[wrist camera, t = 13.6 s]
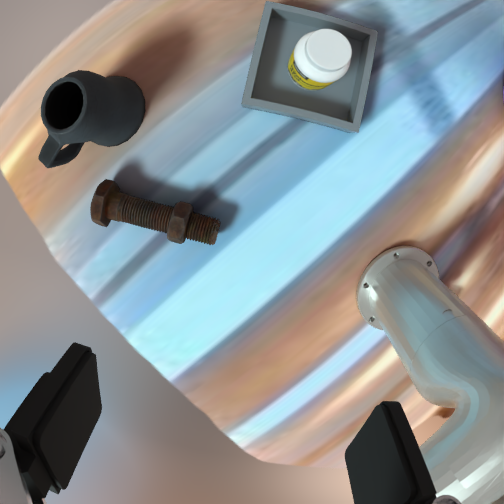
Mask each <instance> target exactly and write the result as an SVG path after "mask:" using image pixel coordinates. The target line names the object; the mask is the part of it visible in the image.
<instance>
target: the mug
mask: <svg viewBox="0 0 504 504" xmlns="http://www.w3.org/2000/svg"><path fill="white" fill-rule="evenodd" d="M144 114H145V99H144V96H143V93H142V90H141V89H140V87H139V86H138V85H137V84H136V83H135V82H134V81H132V80H130V79H129V78H127V77H120V76H112V77H106V78H105V77H103V76H101V75H99V74H96V73H93V72H90V71H82V70H78V71H75V72H72V73H69V74H68V75H66V76H65V77H63V78H60V79H59V80H57V81H56V82H54V83H53V84H52V85H51V86H50V87H49V89H48V90H47V91H46V93H45V95H44V97H43V100H42V105H41V117H42V121H43V124H44V125H45V127H46V128H47V130H48V134H49V136H48V138H47V140H46V142H45V144H44V145H43V147H42V149H41V152H40V154H39V160H40V161H41V162H42V163H43V164H44V165H45V167H47V168H52V167H56V166H60V165H63V164H66V163H69V162H70V161H71V160H73V159H74V158H75V157H76V156H77V155H78V154H79V152H80V150H81V148H82V146H83V144H84V143H85V142H88V141H92V142H94V143H96V144H98V145H102V146H107V147H110V146H117V145H120V144H122V143H124V142H126V141H128V140H129V139H130V138H131V137H132V136H133V135H134V134H135V133H136V132H137V130H138V129H139V127H140V125H141V124H142V121H143V117H144ZM65 144H69V145H68V146H67V147H66V148H64V149H62V150H61V148H62V147H63V145H65Z"/></svg>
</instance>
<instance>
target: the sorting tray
mask: <svg viewBox="0 0 504 504" xmlns="http://www.w3.org/2000/svg"><path fill="white" fill-rule="evenodd" d="M320 29H332V30H335V31H338V32H340V33H341V34H342V35H344V36H345V37H346V38H347V40H348V41H349V43H350V45H351V49H352V55H351V61H350V66H349V68H348V70H347V72H346V73H345V75H344V76H343V77H341V78H340V79H338V80H337V81H335V82H334V83H332V84H330V85H329V86H327V87H325V88H323V89H321V90H316V91H311V90H306V89H303V88H301V87H299V86H298V85H296V84H295V83H294V82H293V81H292V79H291V78H290V76H289V73H288V61H289V59H290V56H291V54H292V52H293V50H294V48H295V46H296V44H297V43H298V41H299V40H300V39H301V38H302V37H303V36H304V35H306V34H308V33H310V32H313V31H317V30H320ZM377 34H378V31H375V30H372V29H370V28H367V27H364V26H361V25H358V24H355V23H352V22H349V21H346V20H343V19H339V18H336V17H333V16H329V15H326V14H322V13H318V12H315V11H311V10H307V9H302V8H298V7H294V6H289V5H284V4H280V3H274V2H269V1H266V3H265V7H264V11H263V15H262V19H261V23H260V27H259V31H258V35H257V39H256V43H255V47H254V51H253V55H252V60H251V64H250V68H249V72H248V77H247V81H246V85H245V90H244V94H243V99H242V103H241V104H242V106H243V107H245V108H251V109H256V110H261V111H265V112H270V113H275V114H279V115H284V116H288V117H292V118H296V119H300V120H304V121H308V122H312V123H316V124H320V125H324V126H327V127H331V128H334V129H338V130H341V131H345V132H348V133H358V132H359V128H360V123H361V119H362V114H363V110H364V105H365V100H366V95H367V90H368V85H369V80H370V75H371V69H372V64H373V58H374V52H375V47H376V41H377Z"/></svg>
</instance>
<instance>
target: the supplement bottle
mask: <svg viewBox="0 0 504 504" xmlns="http://www.w3.org/2000/svg"><path fill="white" fill-rule="evenodd" d="M351 55H352V49H351V45H350V43H349V41H348V40H347V38H346V37H345V36H344V35H342V34H341V33H340V32H338V31H335V30H332V29H320V30H317V31H313V32H310V33H308V34H306V35H304V36H303V37H302V38H301V39H300V40H299V41H298V43H297V44H296V46H295V48H294V50H293V52H292V54H291V56H290V59H289V61H288V73H289V76H290V78H291V79H292V81H293V82H294V83H295V84H296V85H298V86H299V87H301V88H303V89H306V90H311V91H316V90H321V89H323V88H325V87H327V86H329V85H330V84H332V83H334V82H335V81H337V80H338V79H340V78H341V77H343V76H344V75H345V73H346V72H347V70H348V68H349V66H350V61H351Z"/></svg>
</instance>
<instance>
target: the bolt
mask: <svg viewBox="0 0 504 504" xmlns="http://www.w3.org/2000/svg"><path fill="white" fill-rule="evenodd" d="M119 190H120V189H119V187H118V186H117V184H116V183H115V181H112V180H107V179H106V180H104V181H103V182H102V183H100V184H99V186H98V187H97V189H96V191H95V193H94V196H93V199H92V202H91V209H90V210H91V218H92V221H93V222H95V223H96V224H98V225H101V226H105V227H107V226H108V225H109V223H110V221H111V220H115V221H122V222H125V223H130V224H133V225H136V226H137V225H138V226H141V227H144V228H145V227H146V228H148V229H151V230H153V229H154V230H157V231H159V232H161V231H162V232H165V233H167V238H168V239H169V240H170V241H172V242H175V243H179V244H182V243H184V241H185V239H186V238H187V239H190V240H191V239H192V240H193V241H194V240H195V241H197V240H198V242H200V241H201V243H202V242H204V244H205V243H207V244H208V243H209V245H211V244H212V245H213V244H215V242H216V238H217V234H218V231H219V227H220V223H221V222H220V221H219V219H217V220H216V218H215V219H214V218H211V217H208V216H206V217H205V215H204V216H202V214H201V215H199V214H197V213H195V214H194V212H193V207H192V205H191V204H189V203H185V202H182V201H180V202H178V203H177V204H176V205H175V207H173V208H172V206H171V207H169V205H168V206H166V205H165V206H164V204H162V205H161V204H158V203H155V202H154V203H153V201H148V200H146V201H145V199H140V198H137V197H132V196H129V195H127V194H124V193H120V192H119Z"/></svg>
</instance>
